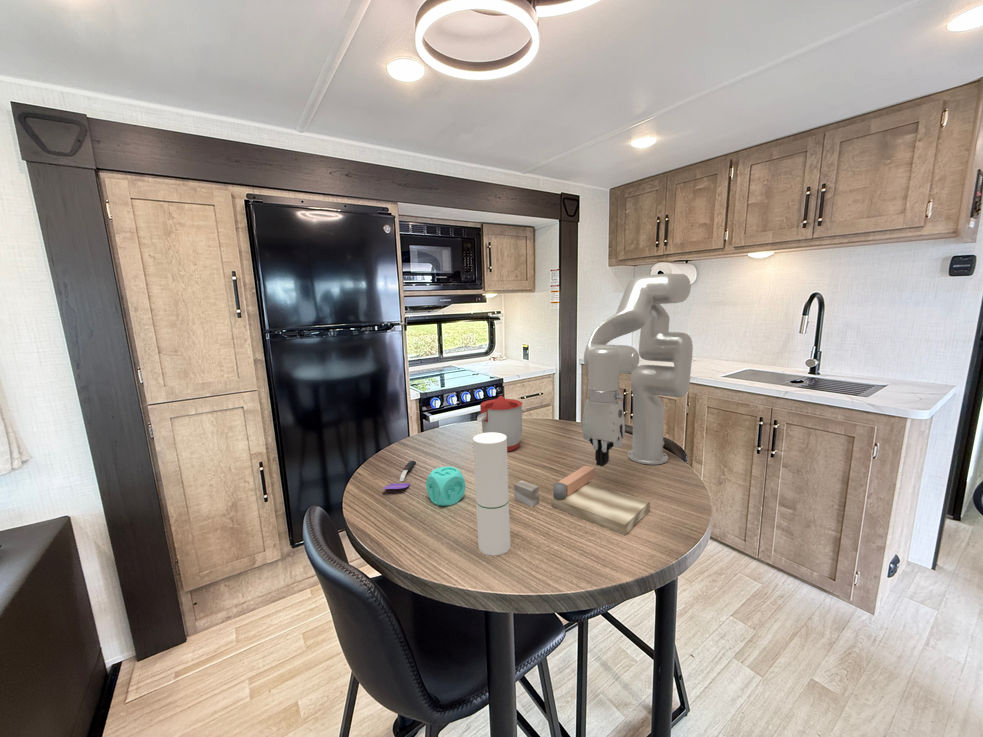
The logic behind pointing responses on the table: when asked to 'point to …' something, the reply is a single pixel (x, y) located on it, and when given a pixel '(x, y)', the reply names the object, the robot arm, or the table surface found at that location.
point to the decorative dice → (445, 486)
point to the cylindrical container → (492, 492)
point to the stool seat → (592, 505)
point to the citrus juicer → (503, 419)
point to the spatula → (402, 477)
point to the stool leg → (573, 482)
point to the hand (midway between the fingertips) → (601, 464)
